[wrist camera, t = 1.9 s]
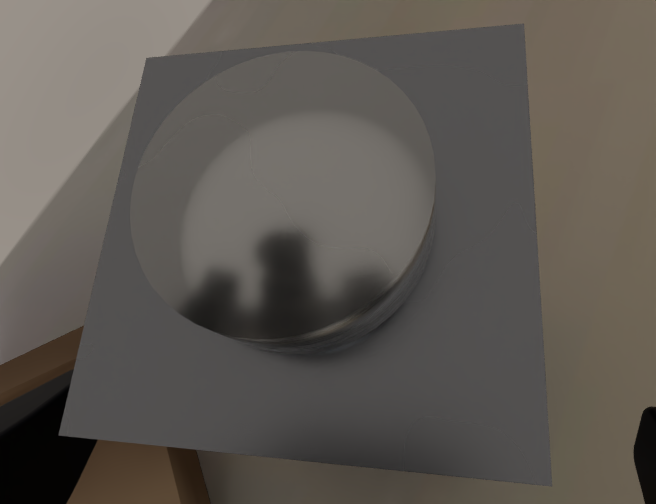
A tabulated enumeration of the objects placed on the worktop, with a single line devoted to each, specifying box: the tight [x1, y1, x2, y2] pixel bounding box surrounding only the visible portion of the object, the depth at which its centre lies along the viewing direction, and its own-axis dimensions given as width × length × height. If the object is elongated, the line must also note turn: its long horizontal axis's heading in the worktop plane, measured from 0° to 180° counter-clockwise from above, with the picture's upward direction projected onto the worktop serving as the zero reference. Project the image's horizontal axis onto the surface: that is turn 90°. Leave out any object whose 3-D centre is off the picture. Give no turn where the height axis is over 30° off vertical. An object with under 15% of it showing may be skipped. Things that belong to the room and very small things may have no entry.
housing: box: [59, 24, 552, 486], centre depth 11 cm, size 6×6×14 cm
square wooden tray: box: [0, 326, 210, 504], centre depth 17 cm, size 8×8×3 cm
